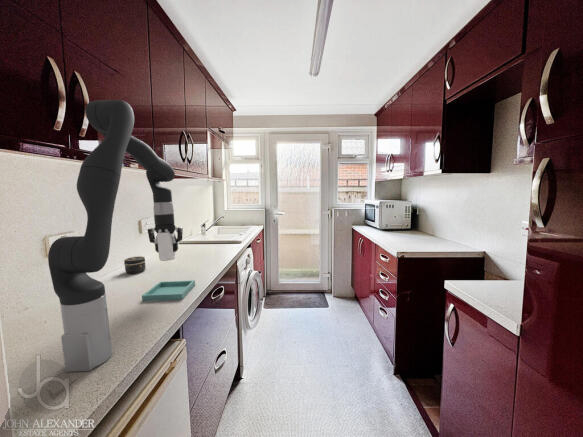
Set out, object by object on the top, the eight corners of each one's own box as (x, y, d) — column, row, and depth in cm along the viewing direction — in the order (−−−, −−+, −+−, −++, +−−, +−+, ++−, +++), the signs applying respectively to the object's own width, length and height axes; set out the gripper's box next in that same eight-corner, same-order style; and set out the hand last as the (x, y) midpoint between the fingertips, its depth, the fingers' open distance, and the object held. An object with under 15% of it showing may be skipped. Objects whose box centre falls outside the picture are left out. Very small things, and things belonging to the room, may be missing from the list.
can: (169, 261, 109) (167, 232, 108) (155, 260, 110) (153, 232, 109) (179, 257, 115) (176, 230, 114) (166, 256, 117) (163, 230, 115)
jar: (134, 275, 140) (132, 261, 139) (120, 273, 144) (119, 260, 143) (150, 269, 149) (148, 256, 148) (137, 268, 153) (136, 255, 152)
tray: (182, 299, 107) (181, 294, 107) (142, 301, 106) (141, 295, 106) (195, 285, 123) (194, 280, 123) (160, 286, 122) (160, 281, 122)
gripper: (141, 214, 107) (145, 254, 108) (177, 213, 107) (180, 253, 109) (151, 212, 114) (154, 250, 116) (184, 211, 114) (187, 249, 116)
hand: (167, 251), depth 112 cm, fingers closed on can, 6 cm apart
